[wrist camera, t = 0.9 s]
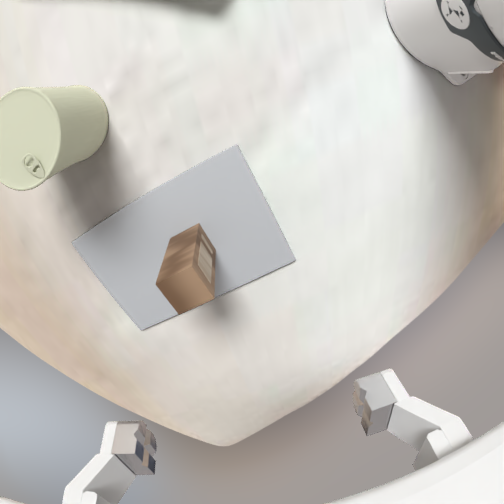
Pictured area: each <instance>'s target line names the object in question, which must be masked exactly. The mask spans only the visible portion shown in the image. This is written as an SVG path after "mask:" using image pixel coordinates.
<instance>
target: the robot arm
mask: <svg viewBox="0 0 504 504" xmlns="http://www.w3.org/2000/svg"><path fill="white" fill-rule="evenodd" d="M385 5H386V12H387V16H388V19H389V22H390V24H391V27H392V29H393V31H394V32H395V34H396V36H397V38H398V39H399V41H400V42H401V43H402V45H403V46H404V47H405V48H406V49H407V50H408V51H409V52H410V53H411V54H412V55H413V56H414V57H415V58H416V59H418V60H419V61H420V62H422V63H424V64H425V65H427V66H429V67H432V68H434V69H436V70H438V71H440V72H441V73H442V74H443V75H444V76H445V77H446V78H447V79H448V80H449V81H450V82H451V83H452V84H454V85H461V84H463V83H465V82H466V81H468V80H469V79H471V78H472V77H473V76H475V75H476V74H478V73H492V72H493V70H494V69H495V68H497V67H498V66H500V65H501V64H502V63H503V62H504V0H385ZM354 389H355V391H354V393H353V404H354V407H355V410H356V413H357V415H359V416H361V417H362V421H361V424H362V426H363V428H364V431H365V433H366V435H367V436H368V435H372V434H375V433H378V432H381V431H384V430H386V429H387V431H389V432H390V433H392V434H393V435H395V436H396V437H398V438H399V439H401V440H402V441H404V442H405V443H407V444H408V445H410V446H412V447H413V448H415V449H416V450H418V451H419V453H418V455H417V457H416V459H415V461H414V463H413V464H412V465H413V467H414V469H415V471H414V472H412V473H410V474H408V475H405V476H403V477H401V478H398V479H396V480H393V481H391V482H388V483H386V484H383V485H380V486H378V487H375V488H372V489H369V490H367V491H364V492H361V493H358V494H355V495H352V496H348V497H345V498H342V499H338V500H335V501H331V502H328V503H325V504H504V421H503V422H502V423H500V424H499V425H497V426H496V427H494V428H493V429H491V430H490V431H488V432H487V433H485V434H483V435H482V436H480V437H479V438H477V439H475V440H474V439H473V437H472V436H471V434H470V432H469V431H468V429H467V428H466V426H465V425H464V423H463V422H462V420H461V419H460V417H458V416H456V415H453V414H451V413H449V412H447V411H444V410H442V409H440V408H438V407H436V406H434V405H431V404H429V403H427V402H425V401H423V400H421V399H419V398H416V397H414V396H412V397H410V396H409V395H408V393H407V392H406V390H405V388H404V387H403V385H402V383H401V382H400V380H399V379H398V377H397V375H396V374H395V372H394V371H393V370H392V369H391V368H390V369H387V370H384V371H381V372H379V373H375V374H372V375H369V376H366V377H363V378H360V379H357V380H355V381H354ZM146 426H147V425H146V424H145V422H144V421H112V422H107V424H106V426H105V430H104V435H103V440H102V445H101V450H100V454H96V455H95V456H94V457H93V459H92V460H91V461H90V462H89V463H88V464H87V465H86V466H85V467H84V468H83V469H82V470H81V471H80V472H79V474H78V475H77V476H76V477H75V478H74V479H73V480H72V481H71V482H70V483H69V484H68V485H67V486H66V488H65V492H64V497H63V502H62V504H118V503H119V501H120V500H121V498H122V497H123V495H124V494H125V492H126V490H127V489H128V487H129V486H130V485H131V483H132V482H133V480H134V479H135V477H136V475H154V474H155V462H156V461H155V460H154V458H153V457H152V456H153V455H154V453H156V440H155V437H154V435H153V433H152V432H151V431H150V430H148V429H146ZM0 504H25V503H21V502H18V501H15V500H12V499H9V498H6V497H1V496H0Z"/></svg>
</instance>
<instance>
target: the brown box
mask: <svg viewBox="0 0 504 504" xmlns="http://www.w3.org/2000/svg"><path fill="white" fill-rule="evenodd" d="M215 260H216V249H215V248H214V246H213V245H212V243H211V241H210V240H209V238H208V237H207V235H206V233H205V232H204V230H203V228H202V227H201V225H200V224H199V223H198V224H196V225H194V226H192V227H190V228H188V229H186V230H185V231H183V232H181V233H179V234H177V235H175V236H173V237H171V238H170V240H169V243H168V246H167V249H166V252H165V255H164V258H163V262H162V265H161V268H160V271H159V274H158V277H157V280H156V286H157V287H158V288H159V290H160V291H161V292H162V294H163V295H164V296H165V298H166V299H167V300H168V301H169V303H170V304H171V305H172V307H173V308H174V309H175V310H176V312H177V313H178V314H182V313H184V312H186V311H188V310H191V309H193V308H195V307H197V306H200V305H202V304H204V303H206V302H208V301H211V300H213V299H214V296H215Z"/></svg>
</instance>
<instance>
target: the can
mask: <svg viewBox="0 0 504 504" xmlns="http://www.w3.org/2000/svg"><path fill="white" fill-rule="evenodd" d="M107 129H108V112H107V109H106V106H105V103H104V101H103V100H102V98H101V97H100V96H99V94H98V93H97V92H95V91H94V90H93V89H91V88H89V87H86V86H82V85H72V86H68V87H20V88H16V89H13V90H11V91H9V92H8V93H6V94H5V95H4V96H3V97H1V98H0V182H1V183H2V184H4V185H5V186H7V187H9V188H11V189H14V190H18V191H25V190H30V189H33V188H36V187H37V186H39V185H41V184H42V183H43V182H44V181H45V180H47V179H49V178H50V177H52V176H53V175H55V174H57V173H58V172H60V171H62V170H64V169H66V168H67V167H69V166H71V165H73V164H75V163H77V162H80V161H83V160H86V159H87V158H89V157H91V156H92V155H93V154H94V153H95V152H96V151H97V150H98V149H99V148H100V146H101V145H102V143H103V141H104V139H105V136H106V133H107Z"/></svg>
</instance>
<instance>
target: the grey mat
mask: <svg viewBox="0 0 504 504" xmlns="http://www.w3.org/2000/svg"><path fill="white" fill-rule="evenodd" d="M198 223H199V224H200V225H201V227H202V228H203V230H204V232H205V233H206V235H207V237H208V238H209V240H210V241H211V243H212V245H213V246H214V248H215V249H216V260H215V296H214V298H215V297H217V296H220V295H222V294H224V293H226V292H228V291H231V290H233V289H235V288H237V287H239V286H241V285H244V284H246V283H248V282H250V281H252V280H254V279H257V278H259V277H261V276H263V275H265V274H267V273H270V272H272V271H274V270H276V269H278V268H280V267H282V266H284V265H287V264H289V263H291V262H293V261H295V260H296V259H295V257H294V255H293V253H292V251H291V249H290V247H289V245H288V243H287V241H286V239H285V237H284V235H283V233H282V231H281V229H280V227H279V225H278V223H277V221H276V219H275V217H274V215H273V213H272V211H271V209H270V207H269V205H268V203H267V201H266V199H265V197H264V195H263V193H262V191H261V189H260V187H259V185H258V183H257V182H256V180H255V178H254V176H253V174H252V172H251V170H250V168H249V166H248V164H247V162H246V160H245V159H244V157H243V155H242V153H241V151H240V149H239V147H238V145H237V144H236V145H234V146H232V147H230V148H228V149H226V150H224V151H222V152H220V153H218V154H216V155H214V156H212V157H211V158H209V159H207V160H205V161H203V162H201V163H199V164H198V165H196V166H194V167H192V168H190V169H188V170H187V171H185V172H183V173H181V174H179V175H178V176H176V177H174V178H172V179H171V180H169V181H167V182H165V183H164V184H162V185H160V186H159V187H157V188H155V189H154V190H152V191H150V192H148V193H147V194H145V195H143V196H142V197H140V198H139V199H137V200H135V201H134V202H132V203H130V204H129V205H127V206H126V207H124V208H122V209H121V210H119V211H118V212H116V213H115V214H113V215H111V216H110V217H108V218H107V219H105V220H104V221H102V222H101V223H99V224H98V225H96V226H95V227H93V228H92V229H90V230H89V231H87V232H86V233H84V234H83V235H81V236H80V237H78V238H77V239H76V240H74V241H73V242H72V244H73V246H74V247H75V248H76V250H77V251H78V253H79V254H80V255H81V257H82V258H83V259H84V261H85V262H86V263H87V265H88V266H89V267H90V269H91V270H92V271H93V273H94V274H95V275H96V277H97V278H98V279H99V281H100V282H101V283H102V284H103V286H104V287H105V288H106V289H107V291H108V292H109V293H110V294H111V296H112V297H113V298H114V299H115V301H116V302H117V303H118V304H119V305H120V307H121V308H122V309H123V310H124V311H125V313H126V314H127V315H128V316H129V317H130V318H131V320H132V321H133V322H134V323H135V324H136V325H137V326H138V328H139V329H140V330H143V329H146V328H148V327H150V326H152V325H155V324H157V323H159V322H162V321H164V320H166V319H168V318H171V317H173V316H175V315H177V314H178V313H177V312H176V310H175V309H174V308H173V307H172V305H171V304H170V303H169V301H168V300H167V299H166V298H165V296H164V295H163V294H162V292H161V291H160V290H159V288H158V287H157V286H156V280H157V277H158V274H159V271H160V268H161V265H162V262H163V258H164V255H165V252H166V249H167V246H168V243H169V240H170V238H171V237H173V236H175V235H177V234H179V233H181V232H183V231H185V230H186V229H188V228H190V227H192V226H194V225H196V224H198Z"/></svg>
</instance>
